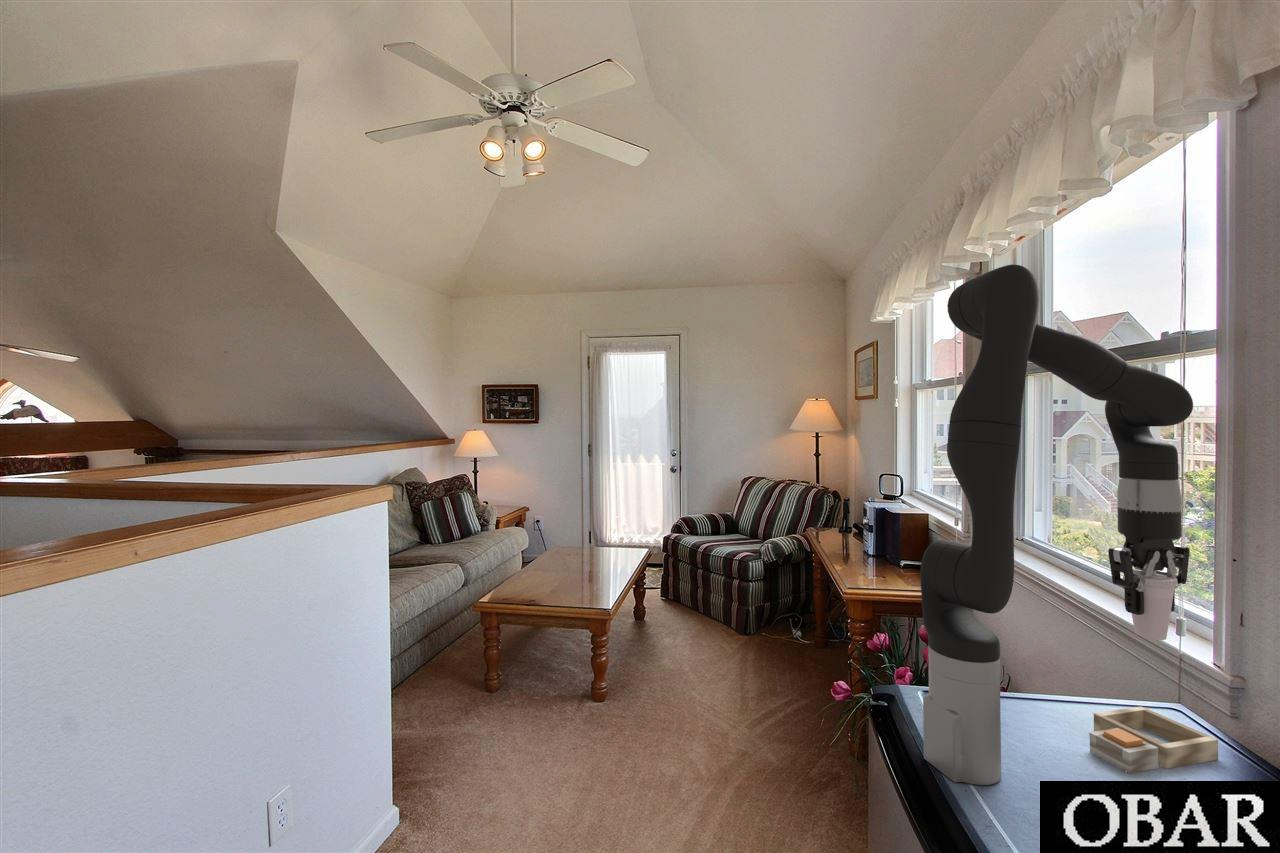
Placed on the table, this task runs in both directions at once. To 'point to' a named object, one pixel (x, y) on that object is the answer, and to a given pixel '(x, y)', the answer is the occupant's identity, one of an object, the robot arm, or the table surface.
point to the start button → (1123, 738)
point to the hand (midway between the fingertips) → (1150, 611)
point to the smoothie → (1155, 607)
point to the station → (1150, 741)
